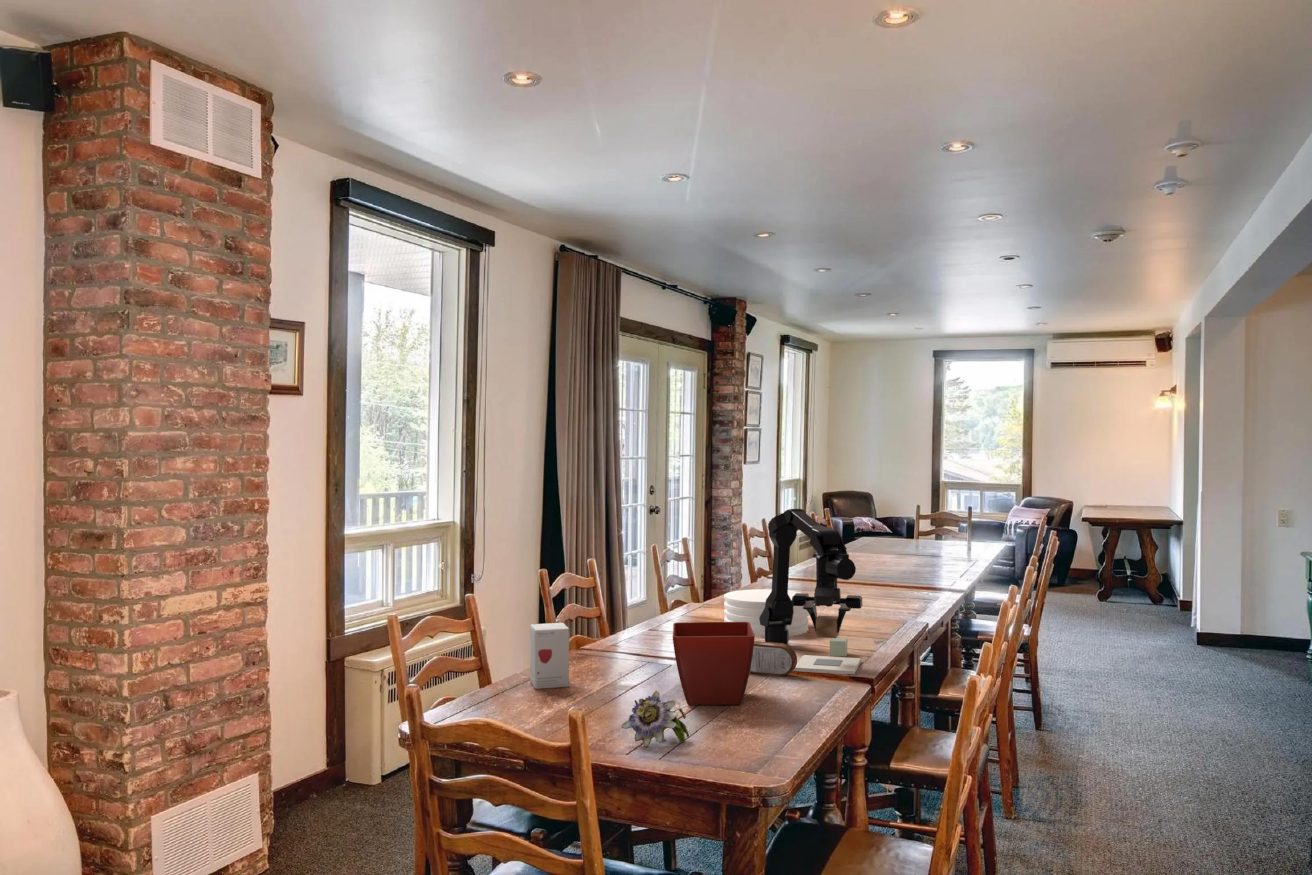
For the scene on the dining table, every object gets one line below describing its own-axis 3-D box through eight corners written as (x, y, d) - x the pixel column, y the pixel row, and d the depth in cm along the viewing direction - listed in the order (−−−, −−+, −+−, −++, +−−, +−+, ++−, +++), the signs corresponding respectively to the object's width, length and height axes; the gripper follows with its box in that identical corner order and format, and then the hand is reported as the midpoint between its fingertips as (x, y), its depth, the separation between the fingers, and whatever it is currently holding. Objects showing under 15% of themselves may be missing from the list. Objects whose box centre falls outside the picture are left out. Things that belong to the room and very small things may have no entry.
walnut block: (815, 637, 253) (815, 618, 253) (818, 633, 258) (818, 615, 258) (836, 638, 251) (836, 619, 251) (838, 634, 256) (838, 616, 256)
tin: (797, 675, 245) (797, 643, 245) (794, 678, 242) (793, 645, 242) (743, 670, 251) (743, 639, 251) (740, 672, 248) (739, 641, 248)
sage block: (829, 656, 268) (829, 640, 268) (832, 652, 272) (831, 637, 272) (845, 656, 266) (845, 641, 267) (847, 653, 271) (847, 638, 271)
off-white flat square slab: (794, 671, 249) (794, 666, 249) (803, 658, 264) (803, 654, 264) (854, 674, 244) (854, 670, 244) (860, 661, 260) (860, 657, 260)
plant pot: (674, 688, 232) (673, 621, 232) (750, 688, 231) (749, 620, 232) (673, 709, 213) (672, 636, 213) (756, 709, 212) (755, 635, 213)
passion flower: (647, 772, 186) (611, 725, 186) (659, 746, 197) (625, 701, 197) (691, 746, 183) (654, 697, 183) (700, 720, 194) (666, 674, 194)
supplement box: (534, 689, 232) (533, 629, 233) (529, 681, 241) (529, 623, 241) (570, 686, 235) (569, 627, 235) (564, 678, 243) (563, 621, 244)
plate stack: (814, 637, 296) (814, 601, 296) (727, 638, 296) (726, 602, 296) (801, 621, 324) (801, 588, 324) (721, 622, 324) (721, 589, 324)
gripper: (788, 578, 250) (788, 635, 250) (858, 580, 244) (858, 639, 244) (794, 572, 261) (795, 628, 260) (862, 575, 255) (862, 631, 255)
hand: (827, 632), depth 255 cm, fingers closed on walnut block, 5 cm apart
